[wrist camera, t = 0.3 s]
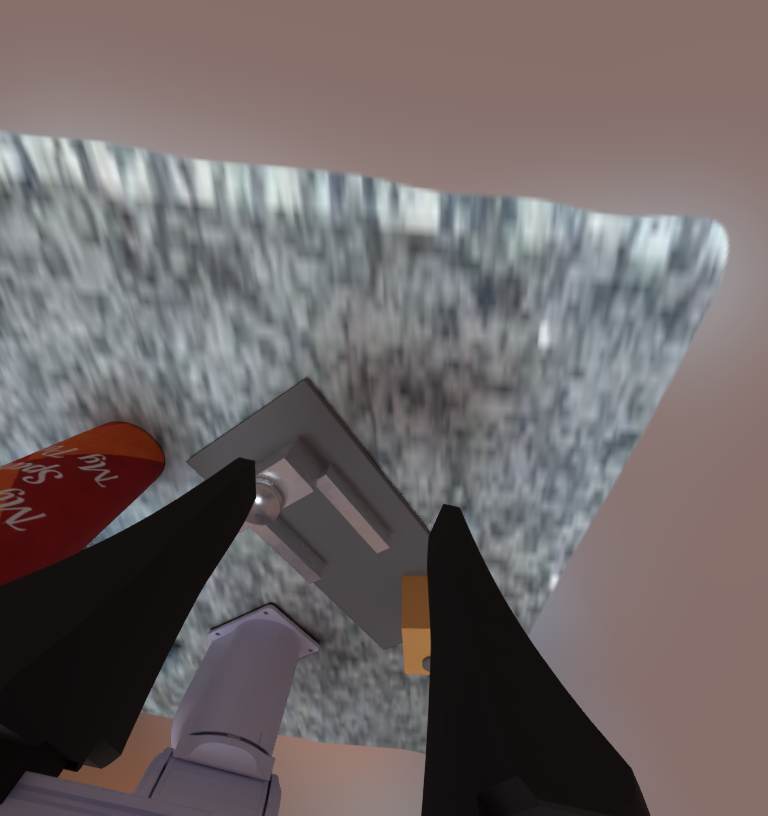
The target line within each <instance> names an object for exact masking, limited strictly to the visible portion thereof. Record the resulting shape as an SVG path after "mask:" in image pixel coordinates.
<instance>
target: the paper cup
mask: <svg viewBox="0 0 768 816" xmlns="http://www.w3.org/2000/svg"><path fill="white" fill-rule="evenodd" d="M164 466H165V459H164V454H163V452H162V450H161V448H160V446H159V445H158V443H157V442H156V441H155V440H154V439H153V437H151V436H150V435H149V434H148V433H147V432H145V431H144V430H142V429H140V428H139V427H137V426H134V425H132V424H128V423H124V422H111V423H107V424H104V425H101V426H99V427H96V428H93V429H91V430H88V431H86V432H83V433H81V434H78V435H76V436H74V437H71V438H69V439H66V440H64V441H62V442H59V443H57V444H54V445H52V446H49V447H47V448H45V449H42V450H40V451H37V452H35V453H33V454H30V455H28V456H26V457H23V458H21V459H18V460H16V461H14V462H11V463H9V464H7V465H4V466H2V467H0V586H1V585H4V584H6V583H9V582H11V581H14V580H16V579H19V578H21V577H23V576H26V575H28V574H31V573H33V572H35V571H38V570H40V569H42V568H45V567H47V566H49V565H52V564H54V563H56V562H59V561H61V560H63V559H66V558H68V557H70V556H72V555H74V554H76V553H78V552H80V551H81V550H82V549H83V548H84V547H85V546H86V545H88V544H89V543H90V542H91V541H92V540H93V539H94V538H95V537H96V536H97V535H98V534H99V533H100V532H101V531H102V530H104V529H105V528H106V527H107V526H108V525H109V524H110V523H111V522H112V521H113V520H114V519H115V518H116V517H117V516H118V515H120V514H121V513H122V512H123V511H124V510H125V509H126V508H127V507H128V506H129V505H130V504H131V503H132V502H133V501H134V500H135V499H136V498H138V497H139V496H140V495H141V494H142V493H143V492H144V491H145V490H146V489H147V488H148V487H149V486H150V485H151V484H152V483H153V482H154V481H155V480H156V479H157V478H158V477H159V476H160V474H161V473H162V472H163V470H164Z"/></svg>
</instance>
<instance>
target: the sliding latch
mask: <svg viewBox="0 0 768 816" xmlns="http://www.w3.org/2000/svg"><path fill="white" fill-rule="evenodd" d="M255 472H256V500H255V502H254V504H253V506H252V508H251V510H250V512H249V514H248V516H247V518H246V520H245V522H244V524H243V526H242V527H241V529H240V531H239V532H242V531H244V530H245V529H247V528H249V527H251V528H252V529H253V530H254V531H255V532H256V533H257V534H258V535H259V536H260V537H261V538H262V539H263V540H264V541H265V542H266V543H267V544H269V545H270V546H271V547H272V548H273V549H274V550H275V551H276V552H277V553H278V554H279V555H280V556H281V557H282V558H283V559H284V560H286V561H287V562H288V563H289V564H290V565H291V566H292V567H293V568H294V569H295V570H296V571H297V572H298V573H299V574H300V575H301V576H302V577H304V578H305V579H306V580H307V581H308V582H309V583H310V584H311V583H313V582H315V581H317V580H320V579H321V577H322V574H323V570H324V566H325V561H324V560H323V559H322V558H321V557H320V556H319V555H318V554H317V553H316V552H315V551H314V550H313V549H312V548H311V547H310V546H309V545H308V544H307V543H306V542H305V541H304V540H303V539H302V538H301V537H300V536H299V535H298V534H297V533H296V532H295V531H294V530H293V529H292V528H291V527H290V526H289V525H288V524H287V523H286V522H285V521H284V520H283V519H282V518H281V517H280V516H279V513H280V512H281V510H282V509H283V508H285V507H287V506H289V505H290V504H292V503H294V502H296V501H298V500H299V499H301V498H303V497H305V496H307V495H308V494H310V493H312V492H314V491H315V488H316V487H317V488H318V489H319V490H320V491H321V492H322V493H323V494H324V495H325V497H326V498H327V499H328V500H329V501H330V502H331V503H332V504H333V505H334V506H335V508H336V509H337V510H338V511H339V512H340V513H341V514H342V515H343V516H344V518H345V519H346V520H347V521H348V522H349V523H350V524H351V525H352V526H353V527H354V529H355V530H356V531H357V532H358V533H359V534H360V535H361V536H362V537H363V539H364V540H365V541H366V542H367V543H368V544H369V545H370V546H371V547H372V548H373V550H374V551H375V552H376V553H379V552H382V551H384V550H386V549H388V548H390V533H391V532H390V531H389V529H388V528H387V527H386V526H385V525H384V524H383V522H382V521H381V520H380V519H379V518H378V517H377V515H376V514H375V513H374V512H373V511H372V510H371V508H370V507H369V506H368V505H367V504H366V503H365V501H364V500H363V499H362V498H361V497H360V496H359V494H358V493H357V492H356V491H355V490H354V488H353V487H352V486H351V485H350V484H349V483H348V481H347V480H346V479H345V478H344V477H343V476H342V474H341V473H340V472H339V471H338V470H337V469H336V467H335V466H334V465H333V464H332V463H331V462H330V463H328V464H326V465H324V463H323V462H322V461H321V460H320V459H319V458H318V456H317V455H316V454H315V453H314V452H313V451H312V450H311V448H310V447H309V446H308V445H307V444H306V443H305V441H304V440H303V439H302V438H301V437H300V436H297V437H296V438H294V439H293V440H291V441H289V442H288V443H286V444H285V445H283V446H281V447H280V448H278V449H277V450H275V451H274V452H272V453H270V454H269V455H267V456H266V457H264V458H262V459H261V460H259V461H258V462H256V463H255Z"/></svg>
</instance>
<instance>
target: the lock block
mask: <svg viewBox="0 0 768 816" xmlns="http://www.w3.org/2000/svg"><path fill="white" fill-rule="evenodd" d="M402 640H403V653H404V665H405V674H423V675H430V652H431V640H430V616H429V598H428V579H427V576H402Z"/></svg>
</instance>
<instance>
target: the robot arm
mask: <svg viewBox="0 0 768 816" xmlns="http://www.w3.org/2000/svg"><path fill="white" fill-rule="evenodd" d="M255 500H256V472H255V461H254V460H250V459H245V458H241V457H239V458H237V459H235V460H234V461H232V462H231V463H229V464H228V465H227V466H225V467H224V468H222V469H221V470H220V471H218V472H217V473H215V474H214V475H212V476H211V477H209V478H208V479H207V480H205V481H204V482H202V483H201V484H199V485H198V486H196V487H195V488H193V489H192V490H190V491H189V492H187V493H186V494H184V495H183V496H181V497H179V498H178V499H176V500H175V501H173V502H171V503H170V504H168V505H167V506H165V507H163V508H162V509H160V510H158V511H157V512H155V513H153V514H152V515H150V516H148V517H147V518H145V519H143V520H141V521H140V522H138V523H136V524H134V525H132V526H130V527H129V528H127V529H125V530H123V531H121V532H119V533H117V534H115V535H113V536H112V537H109V538H107V539H105V540H103V541H101V542H99V543H97V544H95V545H93V546H91V547H89V548H87V549H85V550H83V551H81V552H78V553H76V554H74V555H72V556H70V557H68V558H66V559H63V560H61V561H59V562H56V563H54V564H52V565H49V566H47V567H45V568H42V569H40V570H38V571H35V572H33V573H31V574H28V575H26V576H23V577H21V578H19V579H16V580H14V581H11V582H9V583H6V584H4V585H1V586H0V816H278V812H279V807H280V800H281V788H280V784H279V778H278V776H277V775H276V774H272V769H273V765H274V762H275V758H274V757H272V753H273V750H274V746H275V742H276V738H277V735H278V731H279V728H280V724H281V720H282V717H283V713H284V709H285V706H286V702H287V698H288V695H289V691H290V687H291V684H292V680H293V677H294V673H295V669H296V666H297V662H298V658H301V657H304V656H307V655H309V654H312V653H315V652H317V651H319V647H320V645H319V644H318V643H317V642H316V641H314V640H313V639H312V638H311V637H310V636H309V635H307V634H306V633H305V632H304V631H303V630H302V629H300V628H299V627H298V626H297V625H296V624H295V623H293V622H292V621H291V620H290V619H289V618H288V617H287V616H285V615H284V614H283V613H282V612H281V611H280V610H278V609H277V608H276V607H275V606H274V605H267V606H264V607H262V608H260V609H258V610H255V611H253V612H251V613H249V614H247V615H244V616H242V617H240V618H238V619H235V620H233V621H231V622H229V623H227V624H224V625H222V626H220V627H218V628H215V629H213V630H211V631H209V633H208V634H207V637H208V638H209V639H210V640H212V641H213V642H212V643H211V645H210V647H209V649H208V651H207V653H206V655H205V657H204V659H203V661H202V663H201V664H200V666H199V668H198V670H197V672H196V674H195V676H194V678H193V680H192V682H191V684H190V686H189V687H188V689H187V691H186V693H185V695H184V697H183V699H182V701H181V703H180V705H179V707H178V709H177V711H176V714H175V717H174V721H173V725H172V733H171V744H172V748H171V747H167V748H166V749H165V750H164V751H163V752H162V753H160V754H158V755H157V756H156V757H155V758H154V759H153V760H152V762H151V763H150V765H149V766H148V768H147V770H146V771H145V773H144V775H143V777H142V779H141V780H140V782H139V784H138V786H137V787H136V789H135V791H134V793H133V794H130V793H125V792H120V791H116V790H111V789H107V788H102V787H97V786H93V785H88V784H84V783H78V782H74V781H70V780H65V779H61V778H58V776H59V775H60V773H61V772H62V770H63V769H65V770H70V771H75V772H77V771H79V769H80V768H81V767H82V765H87V766H91V767H97V768H101V769H102V768H103V767H106V766H107V765H109V764H110V763H112V762H113V761H114V760H115V759H117V758H118V757H119V756H120V755H121V754H122V751H123V749H124V747H125V745H126V742H127V740H128V738H129V736H130V733H131V731H132V729H133V727H134V725H135V723H136V721H137V718H138V716H139V714H140V712H141V710H142V707H143V705H144V703H145V701H146V699H147V697H148V695H149V692H150V690H151V688H152V686H153V684H154V682H155V680H156V678H157V676H158V674H159V672H160V670H161V668H162V666H163V663H164V661H165V659H166V657H167V655H168V653H169V651H170V649H171V647H172V645H173V643H174V642H175V640H176V638H177V636H178V634H179V632H180V630H181V628H182V626H183V624H184V622H185V620H186V618H187V616H188V614H189V612H190V611H191V609H192V607H193V605H194V603H195V601H196V599H197V597H198V596H199V594H200V592H201V590H202V589H203V587H204V585H205V584H206V582H207V580H208V579H209V577H210V576H211V574H212V573H213V571H214V570H215V568H216V566H217V565H218V563H219V562H220V560H221V559H222V557H223V556H224V554H225V553H226V551H227V549H228V548H229V546H230V545H231V543H232V542H233V540H234V538H235V537H236V535H237V534H238V532H239V531H240V529H241V527H242V526H243V524H244V522H245V520H246V518H247V516H248V514H249V512H250V510H251V508H252V506H253V504H254V502H255ZM427 579H428V598H429V616H430V640H431V652H430V684H429V707H428V727H427V744H426V761H425V774H424V788H423V801H422V813H421V816H650V813H649V811H648V808H647V805H646V802H645V800H644V797H643V794H642V792H641V790H640V787H639V785H638V783H637V780H636V778H635V776H634V773H633V771H632V769H631V767H630V766H629V765H628V764H627V763H626V762H625V760H624V759H623V758H622V757H621V756H620V754H619V753H618V752H617V751H616V750H615V749H614V747H613V746H612V745H611V744H610V743H609V742H608V741H607V739H606V738H605V737H604V736H603V735H602V733H601V732H600V731H599V730H598V729H597V727H595V725H594V724H593V723H592V722H591V721H590V719H589V718H588V717H587V716H586V714H585V713H584V712H583V711H582V709H581V708H580V707H579V705H578V704H577V703H576V702H575V700H574V699H573V698H572V697H571V695H570V694H569V693H568V692H567V690H566V689H565V688H564V686H563V685H562V684H561V682H560V681H559V679H558V678H557V677H556V675H555V674H554V673H553V671H552V670H551V669H550V667H549V666H548V664H547V663H546V662H545V660H544V659H543V658H542V656H541V655H540V654H539V652H538V651H537V649H536V648H535V647H534V645H533V643H532V642H531V640H530V639H529V637H528V636H527V634H526V633H525V631H524V630H523V628H522V627H521V625H520V624H519V622H518V620H517V619H516V617H515V616H514V614H513V612H512V611H511V609H510V607H509V606H508V604H507V602H506V601H505V599H504V597H503V595H502V594H501V592H500V590H499V588H498V586H497V585H496V583H495V581H494V579H493V577H492V575H491V573H490V572H489V570H488V568H487V566H486V564H485V562H484V560H483V558H482V556H481V554H480V552H479V549H478V547H477V545H476V543H475V541H474V539H473V537H472V534H471V532H470V530H469V528H468V525H467V523H466V521H465V518H464V516H463V514H462V511H461V509H460V508H459V507H455V506H451V505H446V504H443V506H442V508H441V510H440V513H439V515H438V517H437V519H436V522H435V524H434V526H433V528H432V530H431V533H430V535H429V537H428V552H427ZM173 752H174V753H173Z"/></svg>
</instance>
